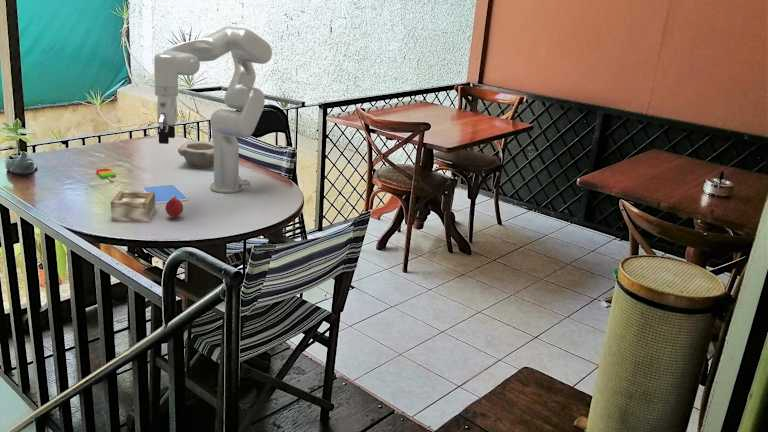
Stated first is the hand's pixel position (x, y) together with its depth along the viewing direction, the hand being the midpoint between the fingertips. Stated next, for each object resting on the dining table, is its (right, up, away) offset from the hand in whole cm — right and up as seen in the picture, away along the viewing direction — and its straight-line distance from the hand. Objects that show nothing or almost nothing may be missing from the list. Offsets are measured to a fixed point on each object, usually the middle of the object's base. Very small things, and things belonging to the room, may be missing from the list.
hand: (167, 140), depth 237 cm
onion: (+2, -27, +1) cm, 27 cm away
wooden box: (-12, -26, +1) cm, 29 cm away
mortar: (-5, -4, +62) cm, 63 cm away
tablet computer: (-8, -19, +23) cm, 31 cm away
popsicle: (-36, -11, +39) cm, 54 cm away
